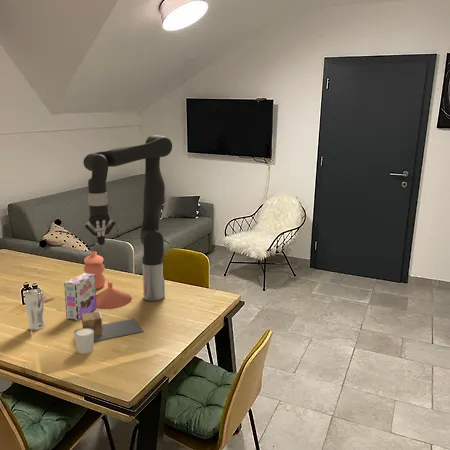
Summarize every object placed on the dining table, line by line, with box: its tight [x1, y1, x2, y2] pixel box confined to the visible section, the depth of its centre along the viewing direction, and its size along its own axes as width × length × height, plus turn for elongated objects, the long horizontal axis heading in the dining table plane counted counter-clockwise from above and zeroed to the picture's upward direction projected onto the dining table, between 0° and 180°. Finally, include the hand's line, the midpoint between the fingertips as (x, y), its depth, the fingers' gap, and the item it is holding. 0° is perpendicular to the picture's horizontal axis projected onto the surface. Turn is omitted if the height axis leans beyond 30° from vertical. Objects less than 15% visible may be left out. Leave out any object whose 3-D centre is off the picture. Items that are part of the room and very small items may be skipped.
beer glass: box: [24, 288, 46, 331], centre depth 179 cm, size 7×7×15 cm
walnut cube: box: [81, 310, 103, 336], centre depth 174 cm, size 7×7×7 cm
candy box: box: [63, 272, 98, 322], centre depth 192 cm, size 14×6×16 cm, turn 161°
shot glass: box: [73, 328, 95, 355], centre depth 162 cm, size 7×7×7 cm
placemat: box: [74, 318, 144, 343], centre depth 177 cm, size 24×13×1 cm, turn 118°
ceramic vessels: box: [83, 251, 133, 310], centre depth 212 cm, size 35×21×19 cm, turn 37°
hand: (101, 244), depth 185 cm, fingers closed
